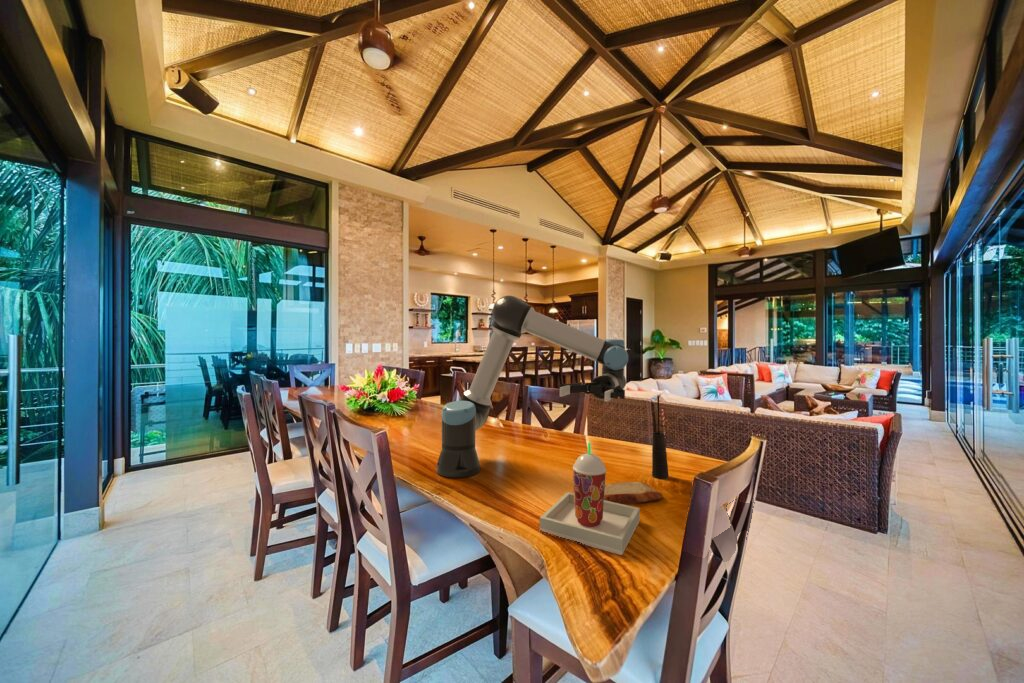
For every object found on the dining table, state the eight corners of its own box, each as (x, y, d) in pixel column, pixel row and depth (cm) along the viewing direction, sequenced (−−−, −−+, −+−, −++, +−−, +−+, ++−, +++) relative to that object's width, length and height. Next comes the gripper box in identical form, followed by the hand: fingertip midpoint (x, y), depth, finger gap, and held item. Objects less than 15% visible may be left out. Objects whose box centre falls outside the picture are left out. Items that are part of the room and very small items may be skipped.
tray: (539, 531, 97) (539, 517, 97) (567, 504, 113) (567, 492, 113) (621, 555, 87) (622, 539, 87) (639, 521, 103) (639, 508, 103)
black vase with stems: (654, 468, 143) (655, 391, 142) (680, 476, 136) (681, 394, 135) (640, 474, 137) (642, 393, 136) (667, 482, 130) (668, 397, 129)
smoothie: (605, 515, 103) (606, 439, 103) (605, 531, 95) (606, 449, 95) (573, 512, 105) (574, 437, 105) (570, 527, 97) (571, 446, 97)
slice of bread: (585, 501, 116) (586, 488, 116) (609, 482, 131) (609, 470, 130) (648, 518, 105) (648, 504, 105) (666, 495, 120) (666, 483, 120)
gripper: (642, 401, 127) (625, 412, 109) (569, 393, 139) (543, 402, 121) (643, 377, 127) (626, 385, 108) (569, 372, 139) (543, 378, 121)
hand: (582, 394), depth 115 cm, fingers open, 13 cm apart
